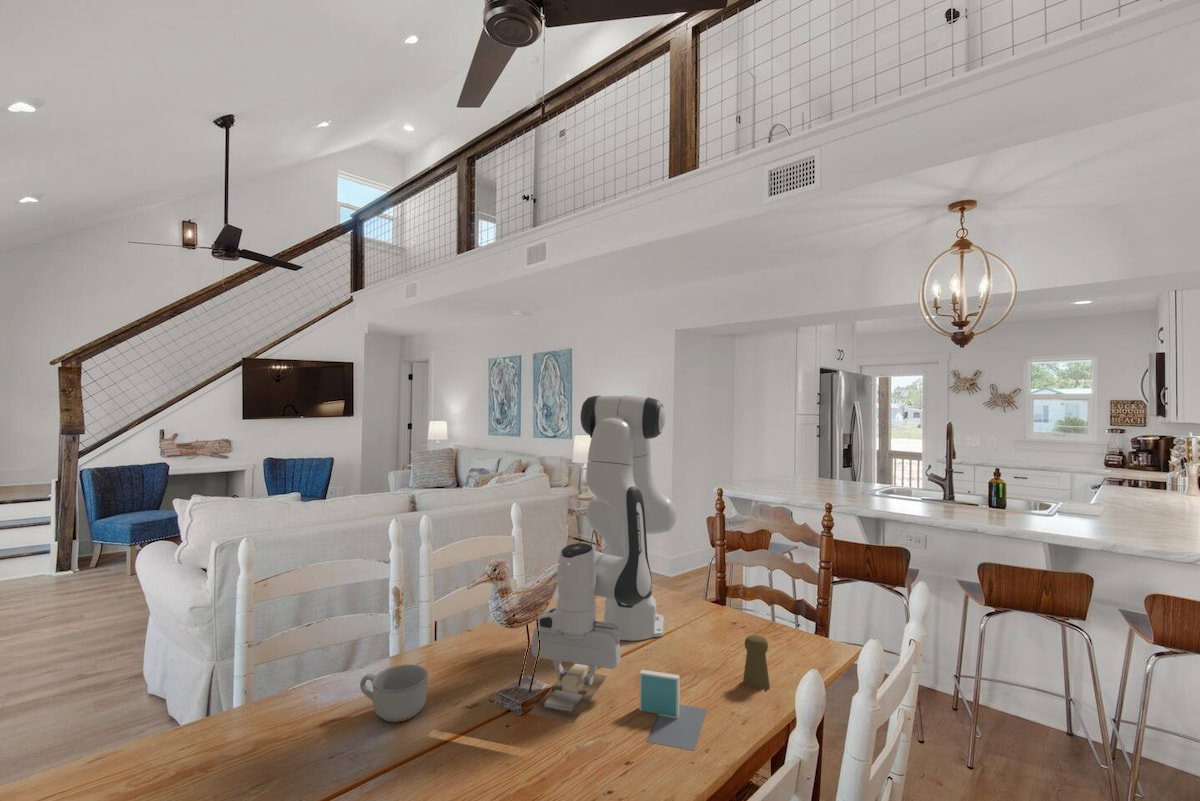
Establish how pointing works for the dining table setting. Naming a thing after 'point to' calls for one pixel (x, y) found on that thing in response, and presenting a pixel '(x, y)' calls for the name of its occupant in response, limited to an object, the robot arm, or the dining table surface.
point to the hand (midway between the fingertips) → (575, 681)
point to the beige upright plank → (569, 689)
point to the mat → (678, 728)
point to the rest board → (572, 715)
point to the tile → (660, 693)
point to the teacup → (397, 691)
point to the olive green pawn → (756, 663)
